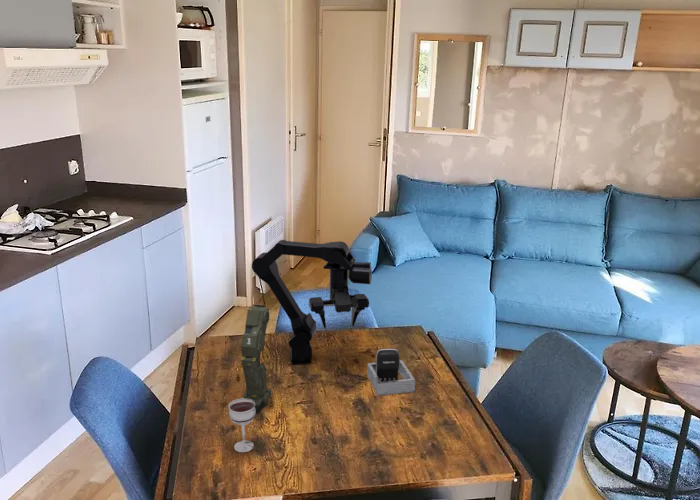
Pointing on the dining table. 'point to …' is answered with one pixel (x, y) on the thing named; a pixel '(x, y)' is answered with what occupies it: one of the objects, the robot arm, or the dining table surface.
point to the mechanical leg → (255, 356)
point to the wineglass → (242, 419)
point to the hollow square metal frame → (391, 386)
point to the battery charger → (387, 364)
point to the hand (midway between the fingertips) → (338, 327)
